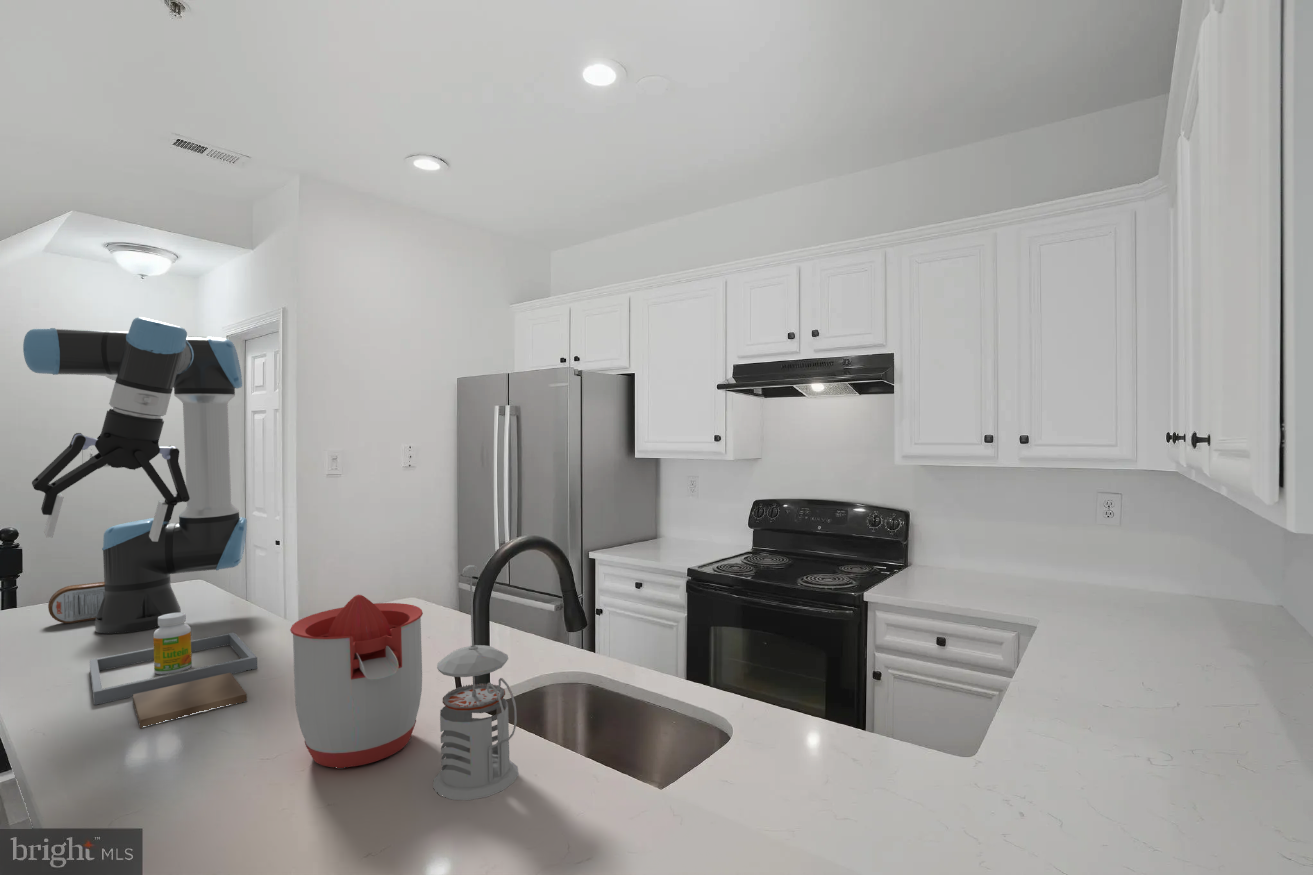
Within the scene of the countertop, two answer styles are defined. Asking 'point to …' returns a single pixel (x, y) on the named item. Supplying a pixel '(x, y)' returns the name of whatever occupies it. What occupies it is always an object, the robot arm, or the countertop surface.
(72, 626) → the countertop surface
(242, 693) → the walnut board
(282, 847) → the countertop surface
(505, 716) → the french press
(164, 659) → the supplement bottle
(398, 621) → the citrus juicer
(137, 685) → the tray frame
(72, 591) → the tin
